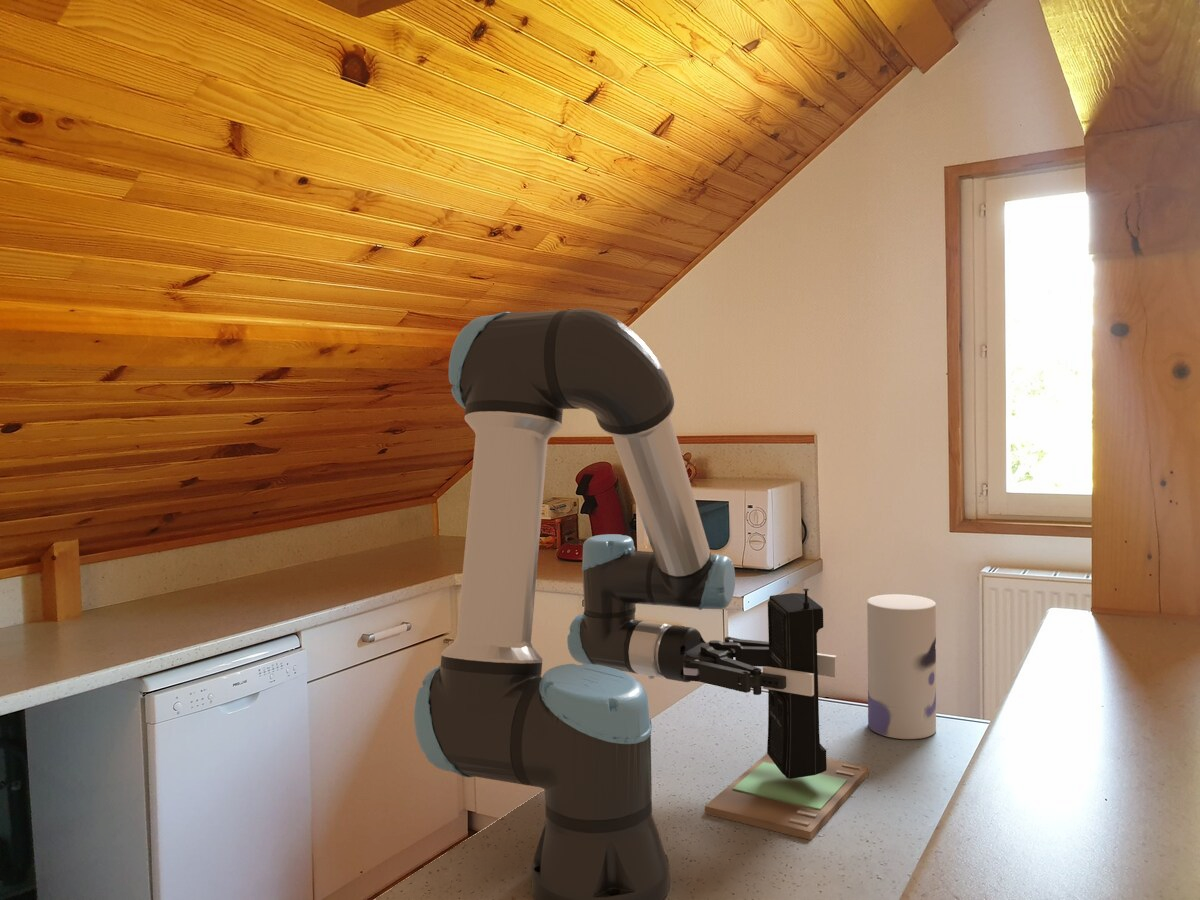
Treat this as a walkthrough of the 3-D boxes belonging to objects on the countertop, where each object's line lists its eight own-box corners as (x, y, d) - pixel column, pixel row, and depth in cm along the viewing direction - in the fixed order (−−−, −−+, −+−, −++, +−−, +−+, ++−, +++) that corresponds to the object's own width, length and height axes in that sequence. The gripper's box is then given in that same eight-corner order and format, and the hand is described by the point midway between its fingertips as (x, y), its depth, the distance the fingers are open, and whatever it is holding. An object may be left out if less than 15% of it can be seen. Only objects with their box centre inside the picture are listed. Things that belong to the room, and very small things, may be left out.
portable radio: (762, 752, 132) (756, 576, 128) (804, 746, 134) (799, 571, 129) (783, 781, 125) (777, 594, 121) (827, 774, 126) (823, 589, 122)
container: (940, 741, 144) (940, 609, 142) (870, 738, 146) (869, 607, 144) (931, 718, 154) (931, 593, 152) (865, 715, 156) (865, 592, 154)
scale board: (810, 840, 115) (810, 830, 115) (704, 813, 123) (704, 804, 123) (869, 773, 133) (869, 765, 133) (774, 754, 141) (773, 746, 141)
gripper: (702, 658, 146) (851, 681, 133) (631, 699, 129) (794, 730, 116) (701, 609, 145) (851, 627, 132) (629, 644, 128) (793, 669, 115)
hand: (824, 675), depth 124 cm, fingers closed on portable radio, 8 cm apart
